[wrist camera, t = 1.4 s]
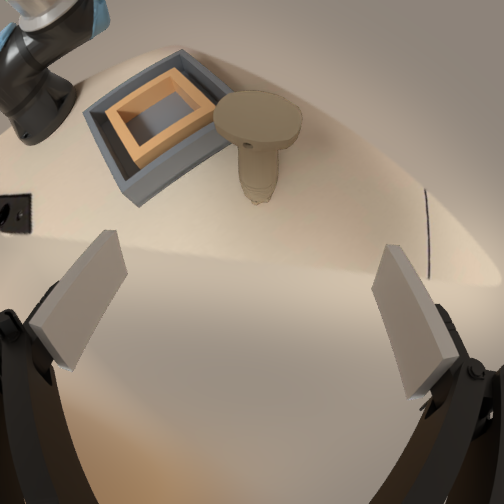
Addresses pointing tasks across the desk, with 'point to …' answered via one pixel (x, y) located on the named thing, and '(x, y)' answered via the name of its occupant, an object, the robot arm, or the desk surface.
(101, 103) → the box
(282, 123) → the handle
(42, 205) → the desk surface
